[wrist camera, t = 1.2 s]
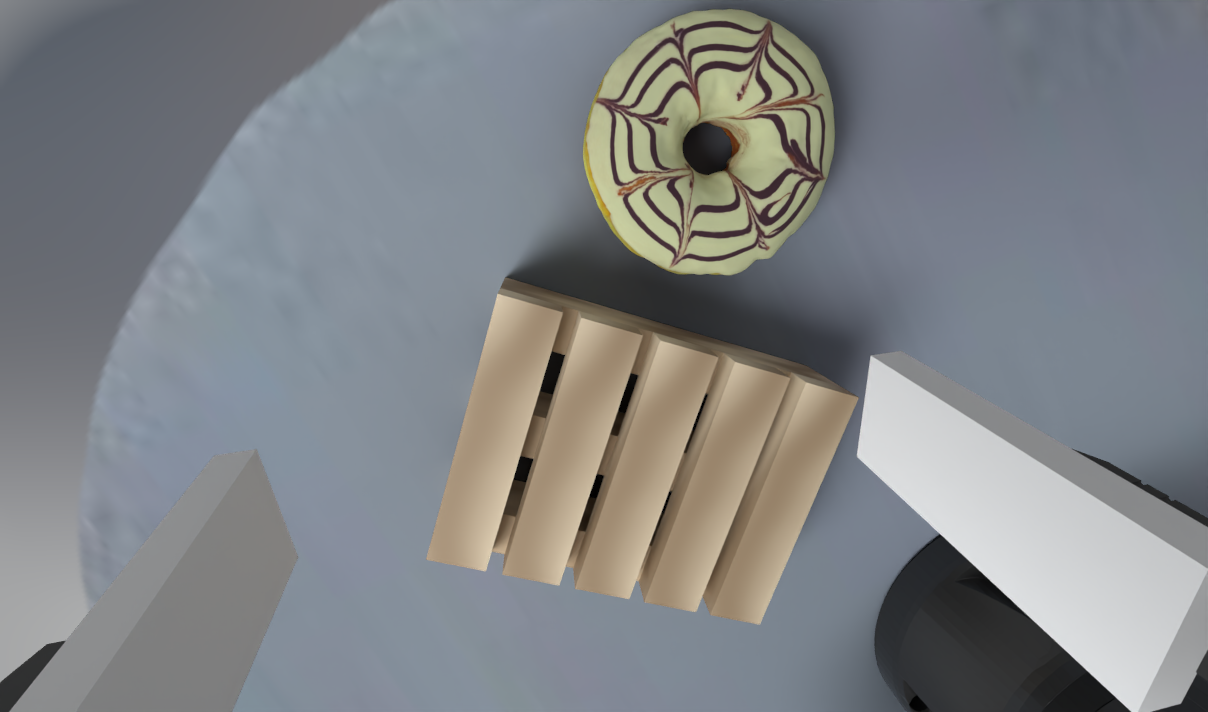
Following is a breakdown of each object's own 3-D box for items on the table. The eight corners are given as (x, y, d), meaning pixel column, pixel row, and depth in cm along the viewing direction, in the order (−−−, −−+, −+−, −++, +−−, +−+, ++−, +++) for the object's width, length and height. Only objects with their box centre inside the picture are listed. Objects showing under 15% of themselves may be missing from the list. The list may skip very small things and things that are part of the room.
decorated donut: (836, 207, 27) (882, 208, 24) (641, 305, 28) (656, 321, 24) (762, -15, 24) (802, -53, 21) (543, 96, 25) (544, 78, 21)
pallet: (806, 365, 29) (858, 397, 24) (726, 560, 32) (759, 624, 27) (505, 277, 26) (497, 293, 21) (444, 500, 29) (426, 559, 24)
